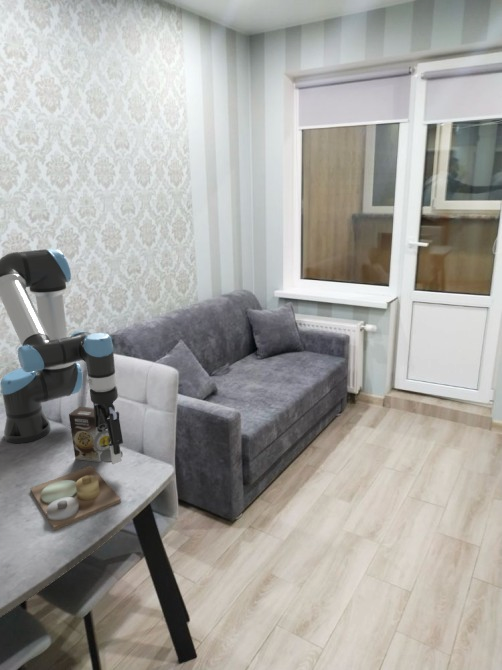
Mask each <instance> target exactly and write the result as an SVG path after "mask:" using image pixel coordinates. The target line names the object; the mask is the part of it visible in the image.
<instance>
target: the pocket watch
mask: <svg viewBox="0 0 502 670" xmlns="http://www.w3.org/2000/svg"><path fill="white" fill-rule="evenodd" d="M103 424H104V423H103ZM100 425H102V424H100ZM100 425H99V427H100ZM99 427H98V428H99ZM105 427H106V424H105ZM105 427H102V428H101V429H100V428H99V429H100V430H102V432H100V433H99V434H98V435H97V436H96V437H95V439H94V447H95V449H96V450H97V451H99V452H102V453H101V455H100V460H101V461H100V462H103V463H107V464H108V463H112V460H111V451H110V446H109V444H111V441H110V437H109V433H108V429H106V430H105V431H104V429H105ZM107 436H108V439H109V440H108V439H107ZM103 442H104V443H103ZM102 443H103V444H104V445H103V444H102ZM102 445H103V446H102ZM120 451H121V458H123V455H124V453H123V451H122V450H121V449H120Z"/></svg>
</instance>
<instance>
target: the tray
mask: <svg viewBox="0 0 502 670" xmlns="http://www.w3.org/2000/svg"><path fill="white" fill-rule="evenodd" d="M30 493H31V494H32V495H33V498H34V499H35V500H36V502H37V504H38V505H39V508H40V509H41V510H42V512H43V514H44V515H45V517H46V519H47V520H48V522H49V525H50V526H51V527H52V529H53V530H54V531H56V530H57V531H58V530H59V529H61V528H65V526H68V525H70V524H74V523H75V522H77V521H80V520H82V519H85V518H87V517H89V516H92V515H94V514H95V513H99V512H101V511H103V510H106V509H108V508H110V507H113V506H115V505H118V504H119V503H121V502H122V500H121V498H120V496H119V495H118V494H117V493H116V492H115V490H113V488H112V487H111V486H110V485H109V484H108V483H107V482H106V480H105V479H104V478H103V477H102V476H101V475H100V474H99V473H98V471H97V470H96V469H94V467H93V466H92V465H89V466H86V467H83V468H81V469H78V470H75V471H73V472H69V473H68V474H64V475H62V476H60V477H56V478H54V479H50V480H48V481H46V482H44V483H40V484H37V485H35V486H32V487H30Z"/></svg>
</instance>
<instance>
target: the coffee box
mask: <svg viewBox="0 0 502 670" xmlns="http://www.w3.org/2000/svg"><path fill="white" fill-rule="evenodd" d="M68 418H69V424H70V425H69V426H70V430H71V431H70V432H71V438H72V444H73V445H72V446H73V451H74V453H73V454H74V459H75V460H80V461H87V462H88V461H89V462H95V463H100V462H102V461H101V460H100V455H101V453H102V452H99V451H97V450H96V449H95V447H94V439H95V437H96V436H97V435H98V434H99V432H98V430H97V428H98V427H97V428H96V427H95V418H94V407H88V406H87V407H85V406H78V407H77V408H76V409H74V410H73V411H72V412H70V413H69V414H68Z"/></svg>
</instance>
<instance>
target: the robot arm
mask: <svg viewBox="0 0 502 670" xmlns="http://www.w3.org/2000/svg"><path fill="white" fill-rule="evenodd" d="M70 268H71V267H70V265H69V262H68V260H67V258H66V256H65V254H64V253H63V252H62V251H61V250H59V249H57V248H55V249H54V248H52V249H51V248H50V249H48V248H45V249H36V250H35V249H34V250H26V251H19V252H18V251H14V252H10V253H7V254H5V255H3V256H2V257H0V299H1V303H2V304H3V306H4V309H5V311H6V313H7V315H8V318H9V320H10V322H11V324H12V326H13V329H14V332H15V333H16V336H17V337H18V340H19V342H20V344H21V346H20V347H18V349H17V358H18V361H19V365H20V367H21V368H17V369H14V370H12V371H10V372H8V373H7V374H5V375H4V376H3V377H2V379H1V380H0V389H1V390H0V391H1V392H0V393H1V395H2V399H3V405H4V410H5V414H6V415H5V416H6V420H5V424H4V429H3V434H4V435H3V436H4V440H5V441H6V442H8V443H11V444H25V443H30V442H35V441H37V440H39V439H41V438H43V437H45V436H47V435H48V434H49V433H50V431H51V423H50V421H49V419H48V417H47V415H46V413H45V412H44V411H43V406H42V403H45V402H49V401H50V402H51V401H53V400H57V399H61V398H64V397H69V396H71V395H75V394H77V393H79V392H80V391H81V390H82V388H83V384H84V383H83V382H84V377H83V376H84V375H83V372H82V367H81V364H80V363H79V362H80V361H84V362H85V363H86V364H85V365H86V369H87V370H86V371H87V377H88V379H87V380H86V382H87V384H88V385H89V386H88V387H89V388H90V389H89V396H90V401H91V402H92V403H93V408H94V418H95V427H96V428H97V427H99V425H100V424H102V425H100V427H99V428H100V429H101V428H102V427H105V424H106V427H105V429H104V431H105V430H108V433H109V437H110V441H111V444H109V446H110V451H111V460H112V462H111V464H112V465H115V464H118V463H121V462H122V457H121V451H122V450H121V444H123V443H124V440H123V435H122V428H121V427H122V426H121V421H120V412H119V411H116V409H115V407H116V406H115V405H114V402H115V401H116V400H117V399H118V398H119V397H118V395H119V394H118V387H117V384H118V382H117V373H116V369H115V367H116V365H115V355H114V345H113V341H112V336H110V334H108V333H103V332H95V333H91V332H88V331H85V330H78V331H75V332H74V333H72V334H71V336H68V329H67V321H66V313H65V305H64V304H65V303H64V296H63V293H64V292H65V290H66V289H67V284H66V283H69V282H71V280H72V278H71V277H72V273H71V269H70ZM27 288H29V291H30V293H31V294H33V295H34V296H35V300H36V307H37V310H36V307H35V305H34V304H33V301H32V300H31V297H30V296H29V294H28V291H27ZM103 423H104V424H103ZM99 428H97V430H98V432H99V433H100V432H102V430H100V429H99ZM107 439H108V436H107ZM108 440H109V439H108ZM103 443H104V442H103ZM103 443H102V444H103ZM103 445H104V444H103ZM103 445H102V446H103ZM120 450H121V451H120Z"/></svg>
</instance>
